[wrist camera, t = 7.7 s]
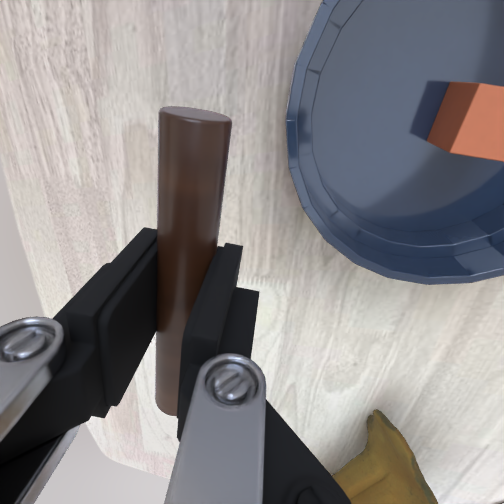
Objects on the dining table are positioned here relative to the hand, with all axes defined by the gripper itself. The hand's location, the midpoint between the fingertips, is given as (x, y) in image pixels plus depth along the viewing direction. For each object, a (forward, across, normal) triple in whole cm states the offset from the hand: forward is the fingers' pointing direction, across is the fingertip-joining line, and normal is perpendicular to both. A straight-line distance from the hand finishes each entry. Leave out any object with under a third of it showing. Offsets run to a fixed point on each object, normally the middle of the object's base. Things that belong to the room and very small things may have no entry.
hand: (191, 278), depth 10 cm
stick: (0, 0, 0) cm, 0 cm away
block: (+15, -13, -5) cm, 20 cm away
